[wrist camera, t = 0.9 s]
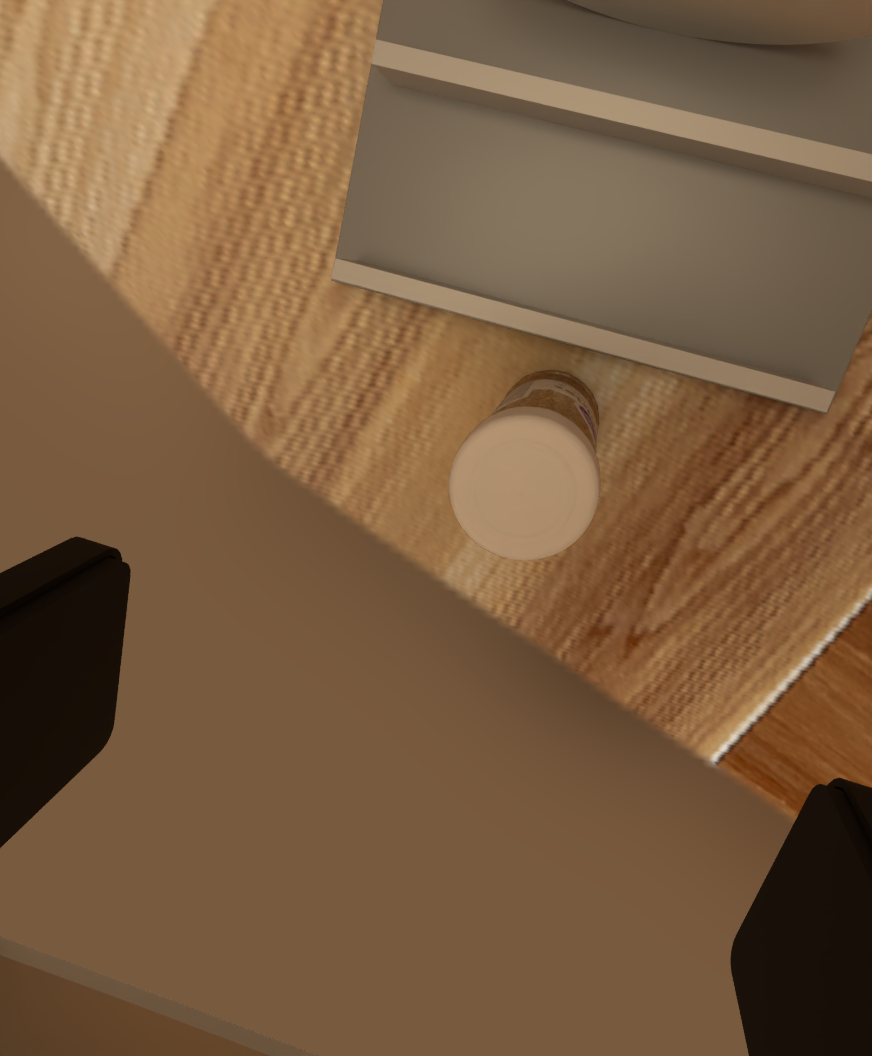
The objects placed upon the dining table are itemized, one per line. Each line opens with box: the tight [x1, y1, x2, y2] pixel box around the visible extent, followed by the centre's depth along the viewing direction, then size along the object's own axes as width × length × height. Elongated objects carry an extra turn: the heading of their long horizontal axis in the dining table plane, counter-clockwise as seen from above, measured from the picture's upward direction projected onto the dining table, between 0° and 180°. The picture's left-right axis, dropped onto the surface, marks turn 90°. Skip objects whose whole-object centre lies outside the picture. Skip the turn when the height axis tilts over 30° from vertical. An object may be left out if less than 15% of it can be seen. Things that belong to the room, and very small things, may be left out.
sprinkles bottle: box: [449, 370, 600, 560], centre depth 28 cm, size 5×5×13 cm
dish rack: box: [332, 0, 872, 414], centre depth 24 cm, size 22×17×15 cm
